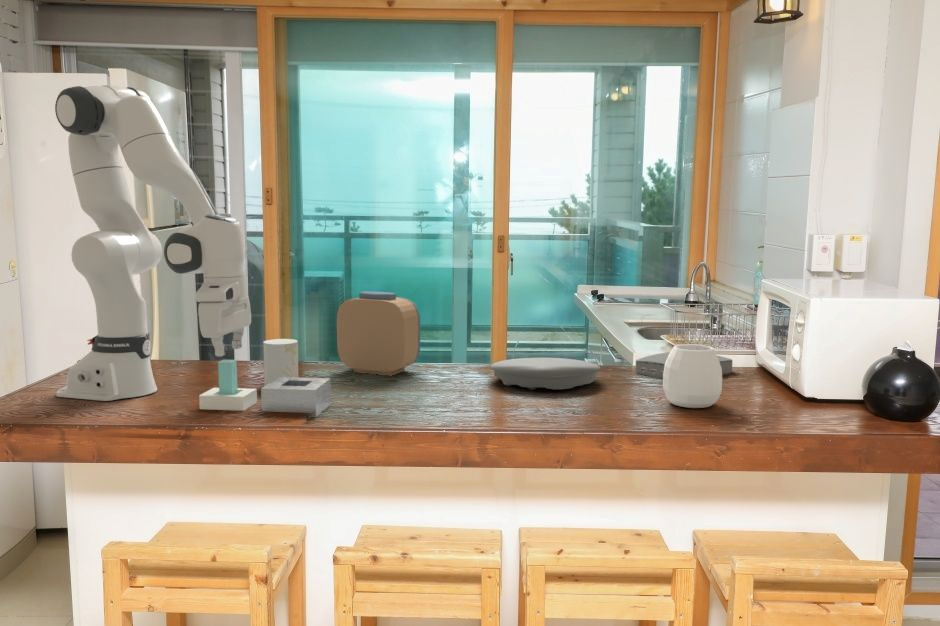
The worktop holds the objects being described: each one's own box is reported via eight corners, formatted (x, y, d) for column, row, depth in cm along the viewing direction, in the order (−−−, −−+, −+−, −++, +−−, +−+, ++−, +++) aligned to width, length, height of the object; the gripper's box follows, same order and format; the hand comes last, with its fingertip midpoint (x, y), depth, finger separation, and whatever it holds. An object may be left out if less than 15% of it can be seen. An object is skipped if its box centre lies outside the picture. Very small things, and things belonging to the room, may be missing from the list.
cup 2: (650, 401, 201) (652, 344, 199) (696, 396, 206) (698, 341, 205) (685, 414, 189) (688, 354, 187) (733, 408, 194) (736, 350, 192)
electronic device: (628, 373, 235) (629, 355, 235) (674, 363, 250) (675, 346, 249) (688, 384, 221) (689, 365, 221) (733, 373, 236) (734, 355, 235)
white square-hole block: (199, 413, 188) (199, 395, 187) (214, 404, 196) (213, 387, 195) (244, 414, 187) (243, 396, 186) (257, 406, 195) (256, 388, 194)
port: (261, 415, 186) (261, 388, 185) (280, 402, 198) (279, 376, 197) (315, 417, 185) (315, 389, 184) (331, 404, 197) (330, 378, 196)
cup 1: (290, 394, 207) (289, 344, 205) (259, 392, 208) (257, 343, 207) (303, 387, 214) (302, 339, 213) (273, 385, 216) (271, 338, 215)
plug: (219, 406, 190) (218, 362, 188) (225, 403, 193) (223, 359, 191) (232, 407, 189) (231, 362, 188) (237, 403, 192) (236, 359, 191)
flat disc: (623, 386, 217) (623, 369, 217) (536, 400, 202) (536, 381, 201) (552, 370, 240) (552, 354, 240) (469, 381, 225) (469, 364, 224)
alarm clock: (421, 371, 234) (421, 292, 231) (404, 378, 225) (404, 296, 223) (356, 365, 242) (355, 289, 240) (337, 371, 234) (336, 292, 231)
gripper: (230, 285, 198) (233, 344, 200) (191, 294, 178) (195, 360, 180) (256, 284, 197) (259, 344, 199) (220, 294, 177) (224, 360, 179)
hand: (229, 352), depth 189 cm, fingers open, 8 cm apart
